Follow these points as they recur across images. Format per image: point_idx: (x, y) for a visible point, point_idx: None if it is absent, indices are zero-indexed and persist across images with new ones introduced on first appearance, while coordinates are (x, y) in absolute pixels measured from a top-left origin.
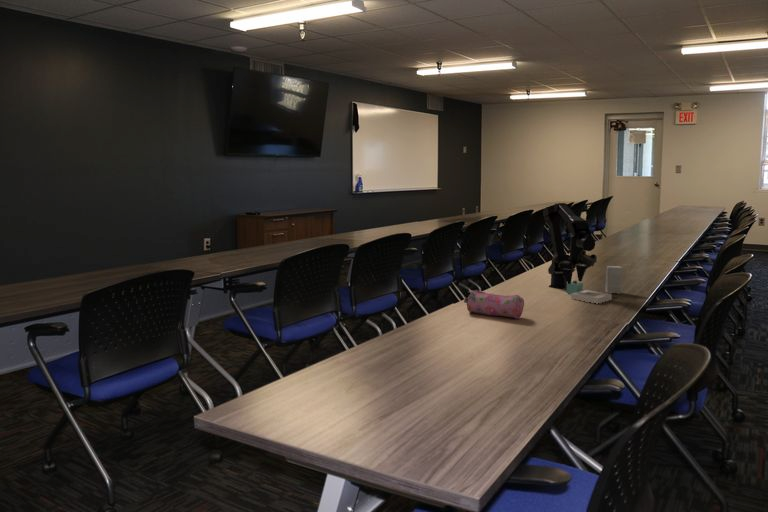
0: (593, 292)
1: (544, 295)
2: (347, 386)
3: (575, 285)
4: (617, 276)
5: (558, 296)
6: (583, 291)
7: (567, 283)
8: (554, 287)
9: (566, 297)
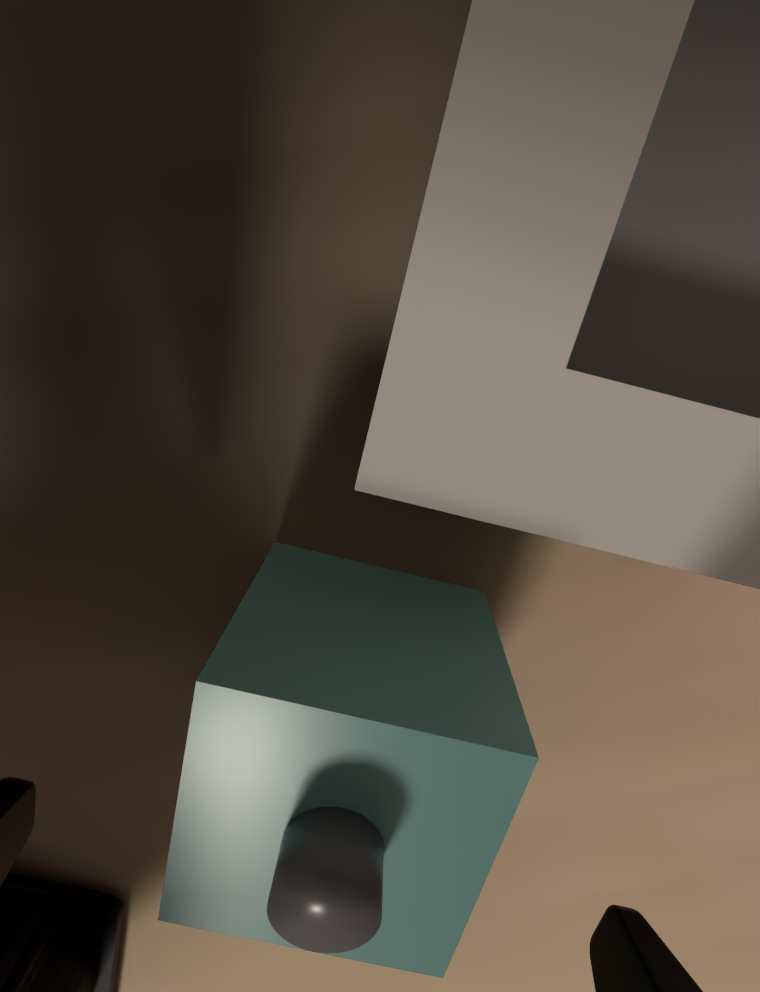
0: (615, 206)
1: (736, 943)
2: None
3: (518, 768)
4: None
5: (716, 794)
6: (607, 486)
7: (445, 954)
8: (115, 968)
9: (742, 683)
